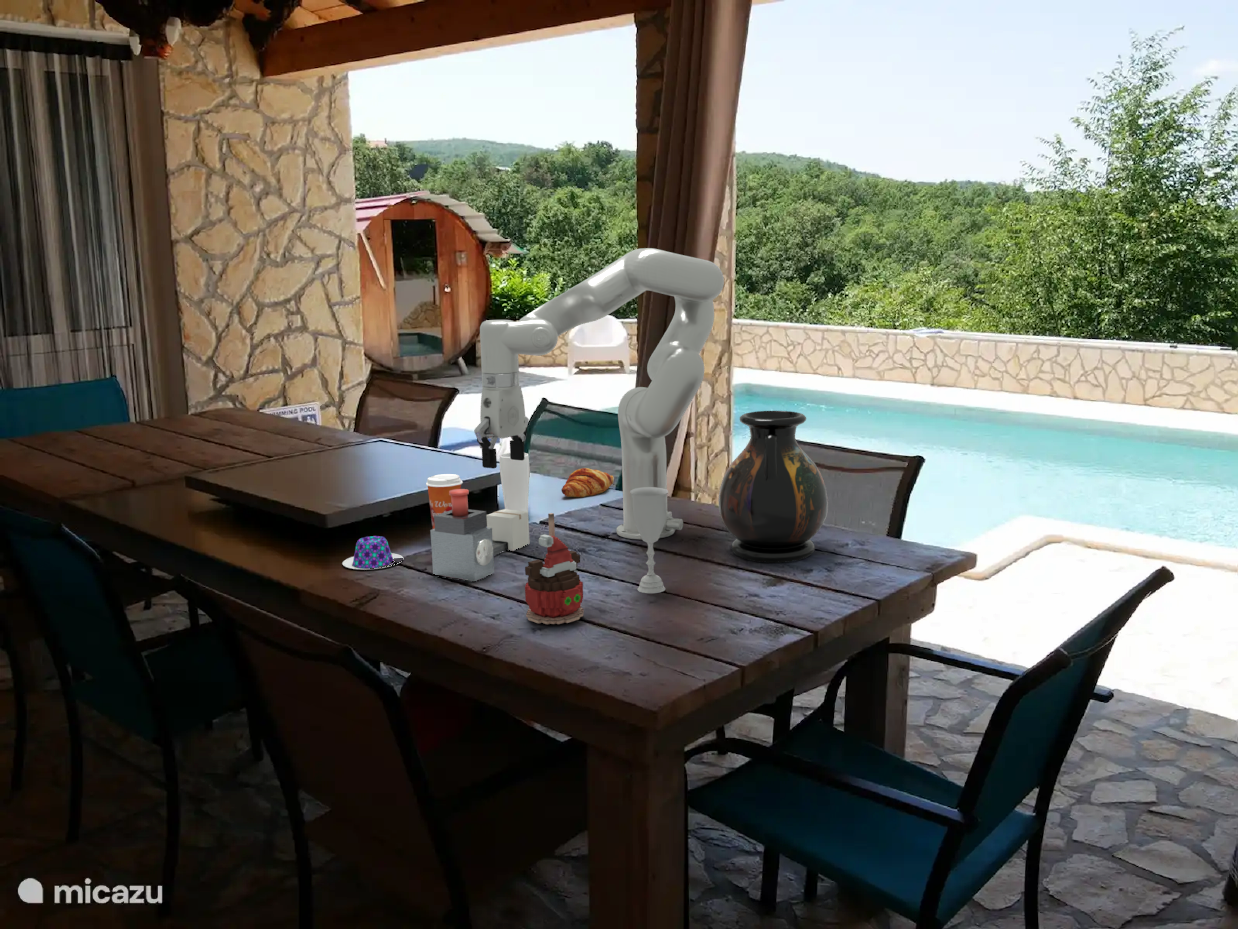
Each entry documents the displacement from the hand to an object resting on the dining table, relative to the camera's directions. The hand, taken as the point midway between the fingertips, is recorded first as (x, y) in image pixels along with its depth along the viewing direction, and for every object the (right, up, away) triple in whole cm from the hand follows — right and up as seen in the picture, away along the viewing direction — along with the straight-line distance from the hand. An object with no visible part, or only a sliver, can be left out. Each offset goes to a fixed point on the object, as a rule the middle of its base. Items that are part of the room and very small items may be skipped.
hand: (503, 463), depth 222 cm
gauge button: (-6, -10, -18) cm, 22 cm away
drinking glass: (0, -13, +28) cm, 31 cm away
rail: (-1, -18, 0) cm, 18 cm away
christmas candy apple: (+13, -26, -43) cm, 52 cm away
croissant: (+16, -8, +54) cm, 57 cm away
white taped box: (+1, -17, +3) cm, 18 cm away
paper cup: (-13, -17, +9) cm, 23 cm away
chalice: (+30, -23, -28) cm, 47 cm away
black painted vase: (+55, -18, -7) cm, 58 cm away
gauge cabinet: (-6, -21, -16) cm, 27 cm away
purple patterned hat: (-26, -20, -6) cm, 33 cm away
